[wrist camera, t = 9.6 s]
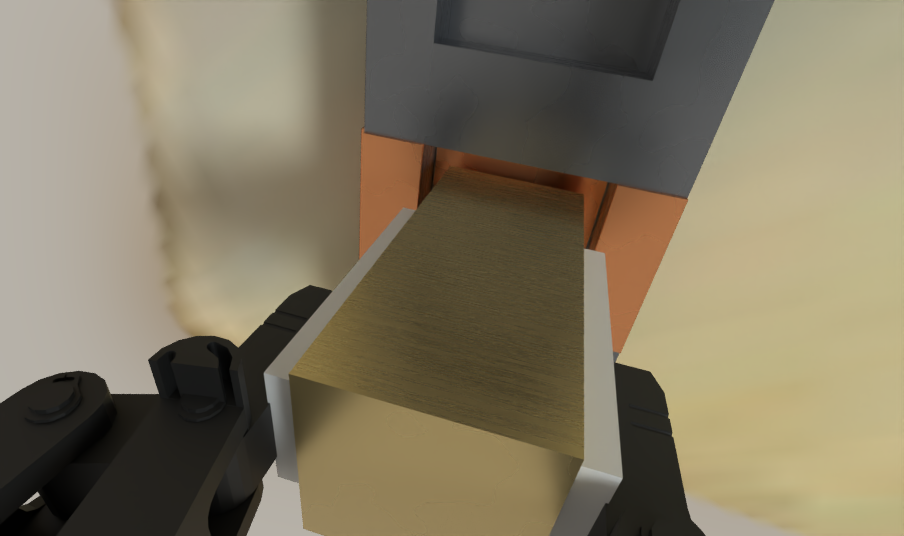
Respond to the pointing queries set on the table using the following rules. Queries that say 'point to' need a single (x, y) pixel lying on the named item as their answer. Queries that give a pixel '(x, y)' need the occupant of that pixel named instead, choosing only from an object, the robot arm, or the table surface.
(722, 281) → the table surface
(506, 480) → the tan rectangular block
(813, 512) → the table surface
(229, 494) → the robot arm
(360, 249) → the rail
